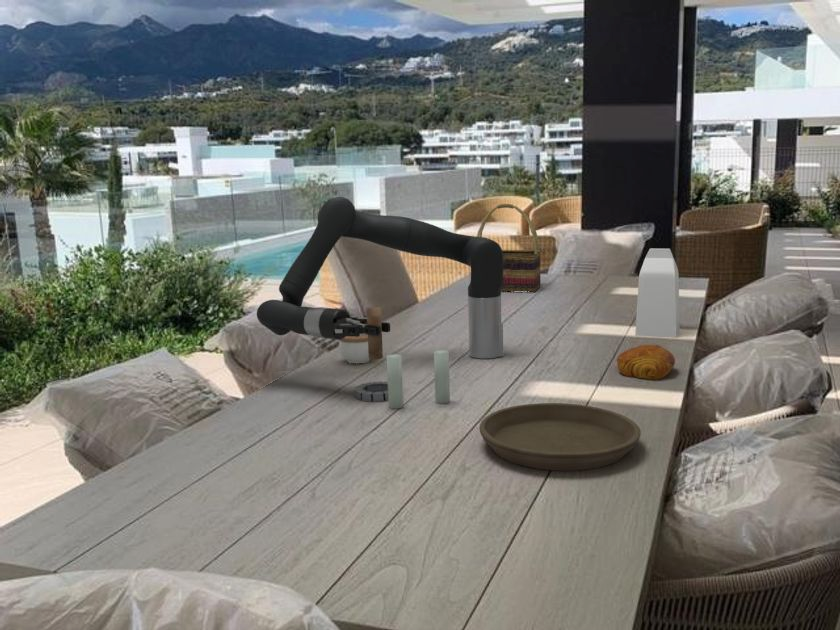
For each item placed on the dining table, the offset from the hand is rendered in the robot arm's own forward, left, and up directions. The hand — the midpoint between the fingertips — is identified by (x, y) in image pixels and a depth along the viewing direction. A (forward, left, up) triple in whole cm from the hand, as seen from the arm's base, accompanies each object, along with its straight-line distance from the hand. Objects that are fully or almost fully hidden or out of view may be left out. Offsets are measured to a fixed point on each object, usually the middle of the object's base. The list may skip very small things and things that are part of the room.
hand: (384, 329), depth 199 cm
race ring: (+2, -2, -17) cm, 17 cm away
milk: (-85, -54, -17) cm, 102 cm away
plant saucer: (-33, +39, -17) cm, 54 cm away
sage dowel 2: (-13, +6, -17) cm, 22 cm away
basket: (-53, -144, -17) cm, 154 cm away
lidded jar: (+7, -36, -17) cm, 40 cm away
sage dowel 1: (-2, +8, -17) cm, 19 cm away
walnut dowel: (+2, -2, -7) cm, 8 cm away
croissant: (-67, -10, -17) cm, 69 cm away
